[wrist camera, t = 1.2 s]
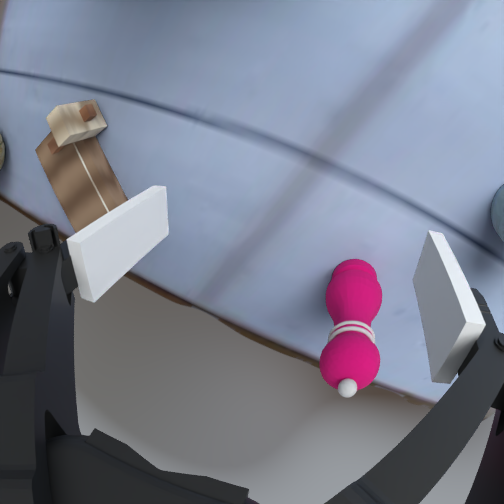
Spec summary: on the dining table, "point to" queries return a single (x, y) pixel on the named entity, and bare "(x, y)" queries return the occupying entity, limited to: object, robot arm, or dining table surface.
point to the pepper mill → (351, 327)
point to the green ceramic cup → (498, 213)
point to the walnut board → (81, 180)
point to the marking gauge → (74, 123)
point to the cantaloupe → (1, 152)
